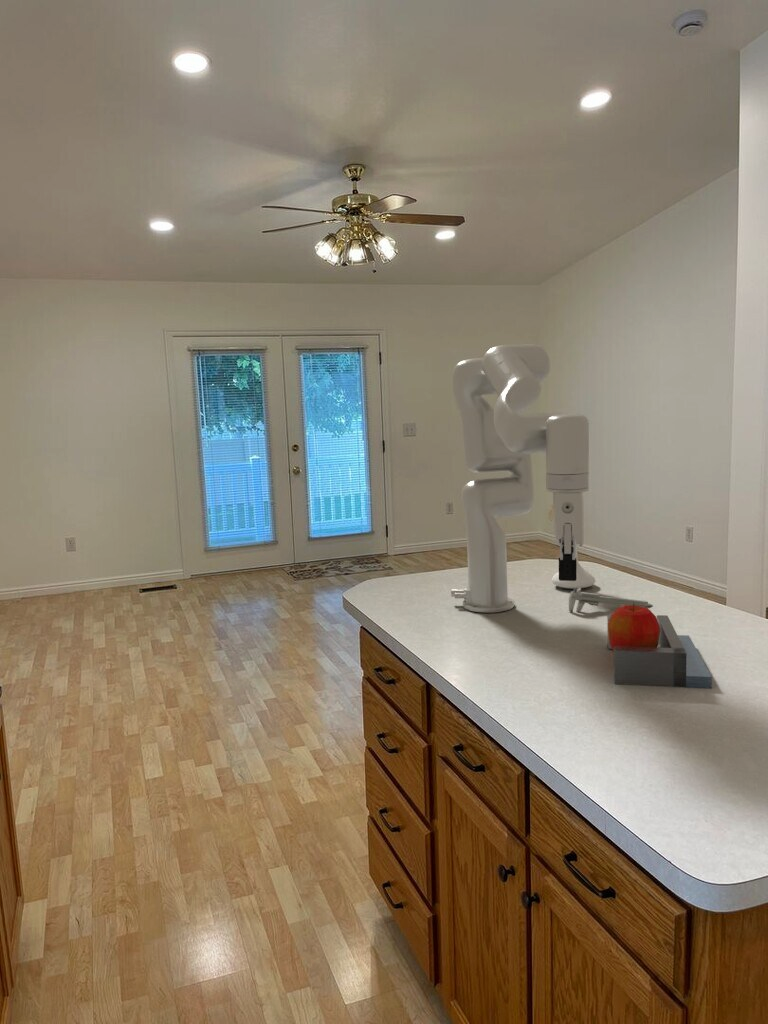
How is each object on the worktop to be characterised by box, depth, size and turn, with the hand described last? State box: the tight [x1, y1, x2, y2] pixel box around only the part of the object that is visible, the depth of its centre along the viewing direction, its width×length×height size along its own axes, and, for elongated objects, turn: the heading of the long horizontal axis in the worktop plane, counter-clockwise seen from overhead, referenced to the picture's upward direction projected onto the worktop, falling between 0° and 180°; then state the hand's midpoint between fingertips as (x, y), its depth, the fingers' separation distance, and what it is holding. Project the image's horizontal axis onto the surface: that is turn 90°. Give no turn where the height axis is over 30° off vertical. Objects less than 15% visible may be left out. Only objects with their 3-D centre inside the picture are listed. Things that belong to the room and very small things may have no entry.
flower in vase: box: [546, 503, 596, 590], centre depth 186 cm, size 13×11×25 cm
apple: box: [606, 603, 660, 653], centre depth 129 cm, size 9×9×12 cm
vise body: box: [613, 614, 713, 689], centre depth 130 cm, size 16×22×6 cm
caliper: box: [568, 587, 654, 614], centre depth 166 cm, size 20×1×6 cm, turn 97°
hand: (567, 579), depth 132 cm, fingers closed
